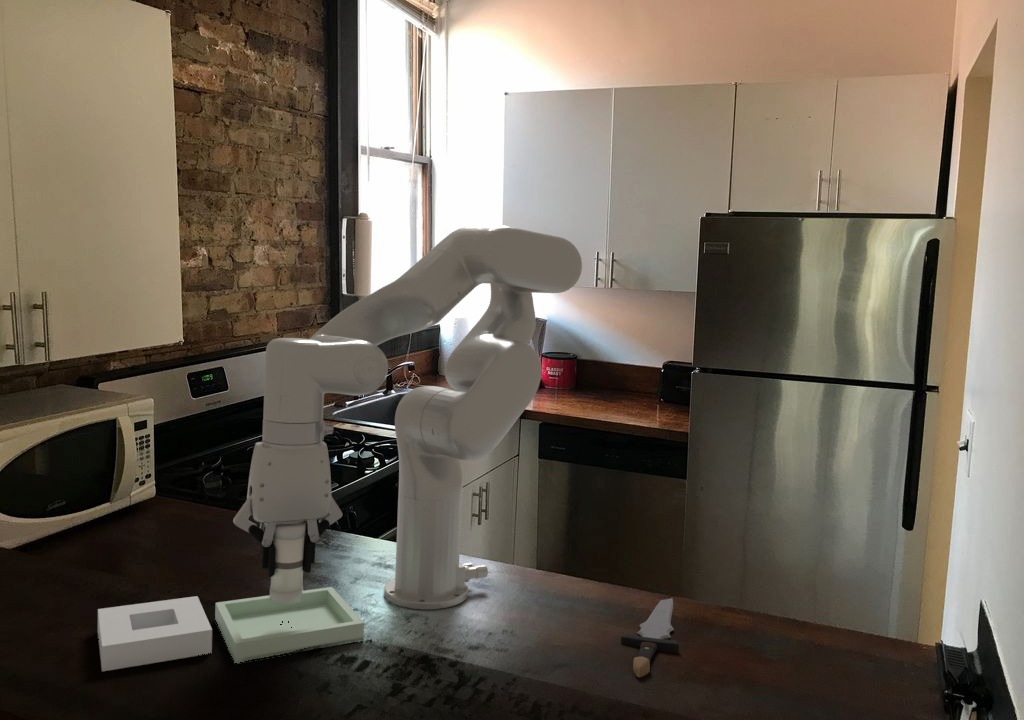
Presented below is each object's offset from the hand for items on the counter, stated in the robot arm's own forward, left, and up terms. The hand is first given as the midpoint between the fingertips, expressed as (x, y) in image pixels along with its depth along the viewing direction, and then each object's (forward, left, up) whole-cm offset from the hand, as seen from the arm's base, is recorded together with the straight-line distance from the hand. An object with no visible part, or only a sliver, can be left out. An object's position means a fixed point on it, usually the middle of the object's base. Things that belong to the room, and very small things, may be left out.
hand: (287, 570), depth 105 cm
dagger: (-47, +19, -9) cm, 51 cm away
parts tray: (0, 0, -8) cm, 8 cm away
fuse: (0, 0, -4) cm, 4 cm away
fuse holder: (+16, -3, -8) cm, 18 cm away
